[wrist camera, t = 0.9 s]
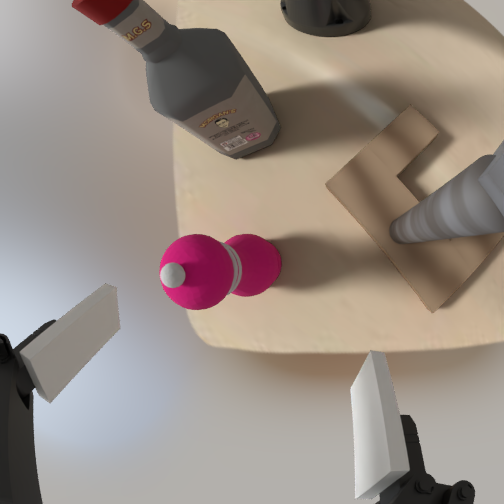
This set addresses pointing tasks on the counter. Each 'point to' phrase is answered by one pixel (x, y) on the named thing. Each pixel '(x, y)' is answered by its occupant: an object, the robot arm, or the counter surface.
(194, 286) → the pepper mill
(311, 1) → the robot arm
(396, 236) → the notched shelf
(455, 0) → the counter surface
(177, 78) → the liquor
